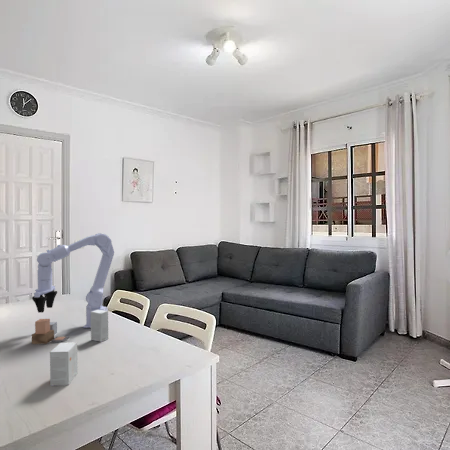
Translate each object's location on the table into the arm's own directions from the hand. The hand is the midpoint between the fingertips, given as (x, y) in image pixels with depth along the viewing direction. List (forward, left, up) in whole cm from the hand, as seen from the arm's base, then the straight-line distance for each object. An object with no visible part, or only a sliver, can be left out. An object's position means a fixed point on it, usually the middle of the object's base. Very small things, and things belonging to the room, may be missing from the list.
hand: (45, 309), depth 148 cm
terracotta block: (-4, +10, -7) cm, 13 cm away
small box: (-28, +44, -11) cm, 53 cm away
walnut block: (-4, +10, -11) cm, 15 cm away
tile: (-11, +9, -10) cm, 17 cm away
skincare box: (-27, +9, -11) cm, 30 cm away
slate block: (-3, +2, -10) cm, 11 cm away
